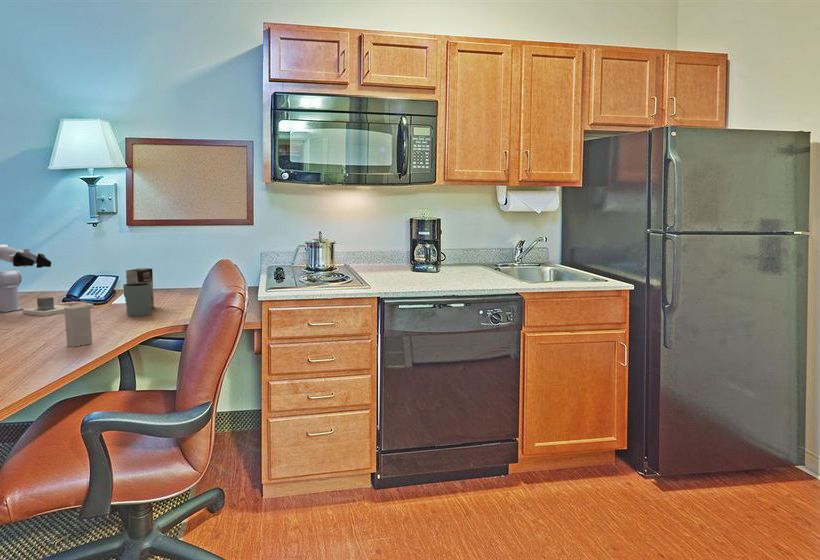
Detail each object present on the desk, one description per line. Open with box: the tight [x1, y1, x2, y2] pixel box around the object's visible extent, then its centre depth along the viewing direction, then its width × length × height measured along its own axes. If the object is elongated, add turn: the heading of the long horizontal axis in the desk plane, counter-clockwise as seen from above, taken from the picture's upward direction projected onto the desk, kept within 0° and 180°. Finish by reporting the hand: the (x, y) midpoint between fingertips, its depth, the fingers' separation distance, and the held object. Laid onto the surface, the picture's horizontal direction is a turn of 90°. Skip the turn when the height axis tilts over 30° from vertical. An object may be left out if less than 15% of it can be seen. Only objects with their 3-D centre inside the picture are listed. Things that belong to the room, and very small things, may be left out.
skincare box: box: [64, 305, 93, 348], centre depth 202 cm, size 6×4×12 cm
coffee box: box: [125, 267, 155, 309], centre depth 264 cm, size 9×6×16 cm
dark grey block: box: [36, 296, 55, 311], centre depth 254 cm, size 4×4×6 cm
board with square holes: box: [21, 301, 94, 317], centre depth 259 cm, size 12×22×2 cm, turn 154°
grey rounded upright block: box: [122, 282, 152, 318], centre depth 252 cm, size 10×10×12 cm
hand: (41, 263), depth 249 cm, fingers open, 7 cm apart
